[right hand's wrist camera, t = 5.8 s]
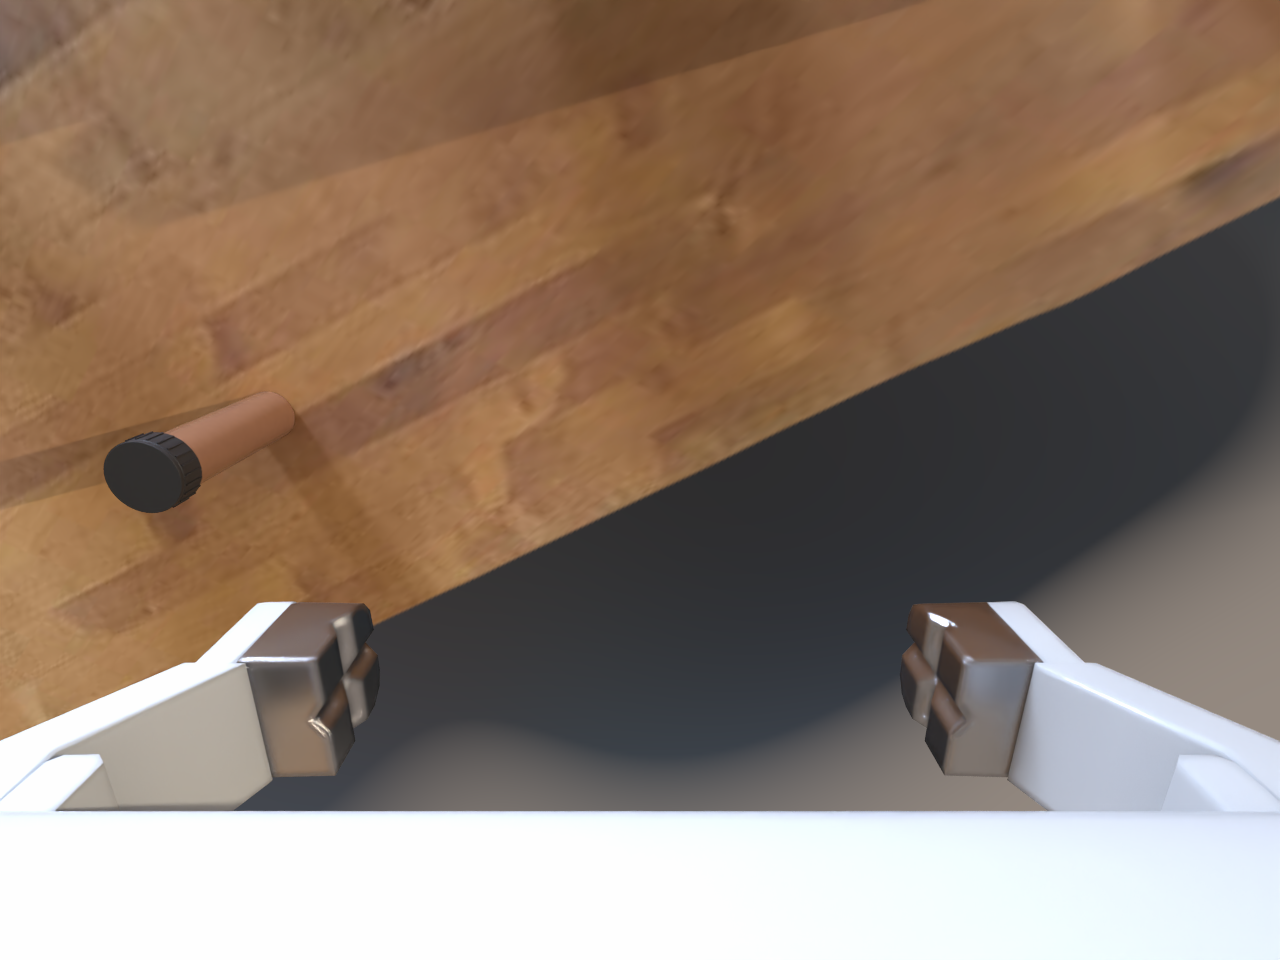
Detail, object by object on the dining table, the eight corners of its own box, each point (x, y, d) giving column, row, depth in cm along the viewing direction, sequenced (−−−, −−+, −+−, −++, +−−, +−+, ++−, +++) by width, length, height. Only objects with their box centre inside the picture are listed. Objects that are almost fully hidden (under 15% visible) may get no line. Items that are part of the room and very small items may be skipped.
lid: (194, 430, 45) (172, 440, 43) (210, 501, 46) (190, 514, 44) (118, 430, 45) (93, 440, 43) (137, 501, 46) (114, 514, 44)
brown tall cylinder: (290, 391, 58) (171, 445, 43) (298, 438, 59) (186, 505, 45) (242, 391, 58) (106, 445, 43) (251, 438, 59) (123, 505, 44)
